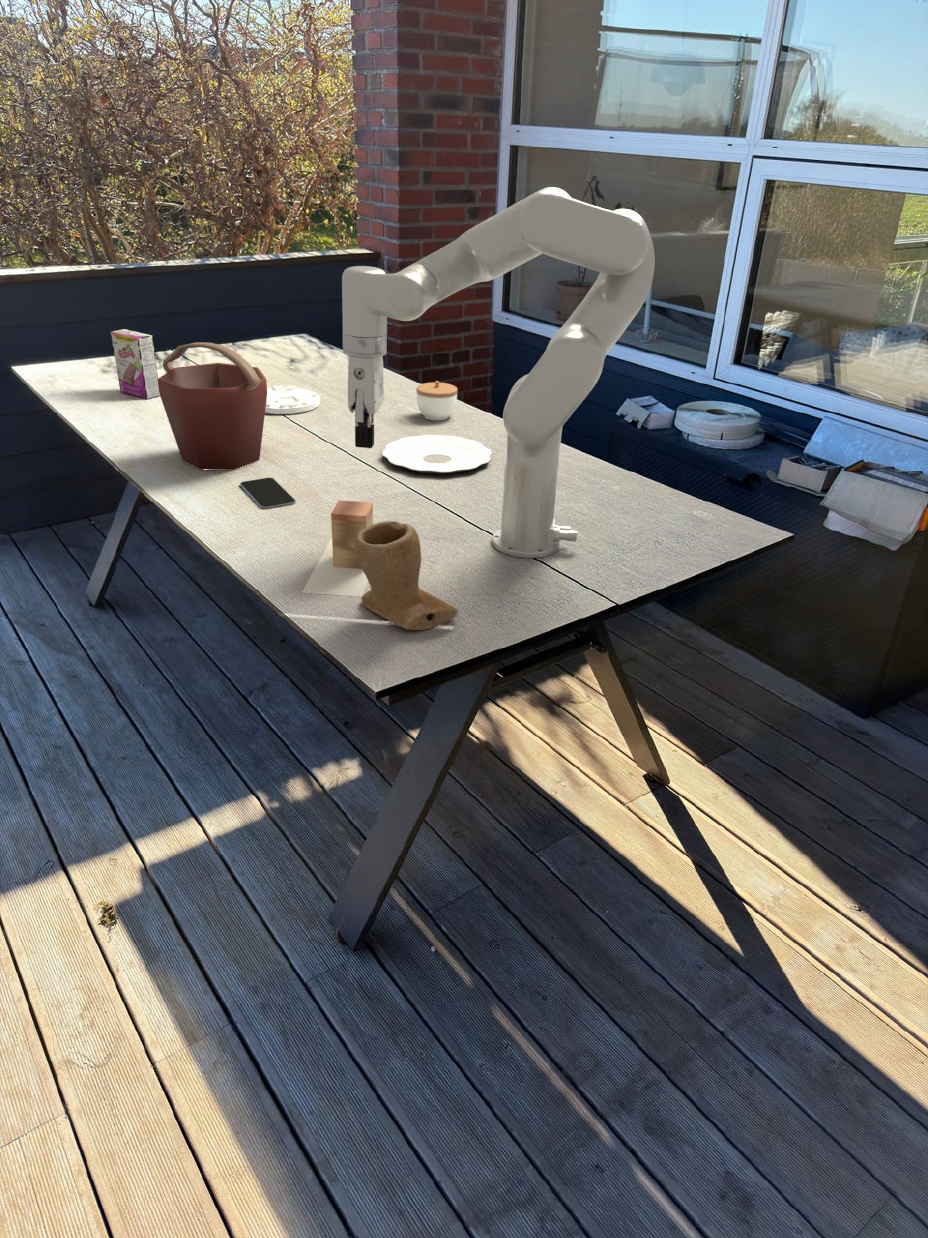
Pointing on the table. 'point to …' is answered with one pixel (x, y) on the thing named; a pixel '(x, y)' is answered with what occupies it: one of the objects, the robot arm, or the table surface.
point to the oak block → (348, 530)
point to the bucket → (215, 409)
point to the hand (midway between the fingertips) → (364, 445)
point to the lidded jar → (436, 400)
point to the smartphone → (267, 493)
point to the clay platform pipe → (397, 577)
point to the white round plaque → (290, 400)
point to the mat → (335, 578)
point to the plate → (457, 448)
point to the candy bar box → (135, 363)
